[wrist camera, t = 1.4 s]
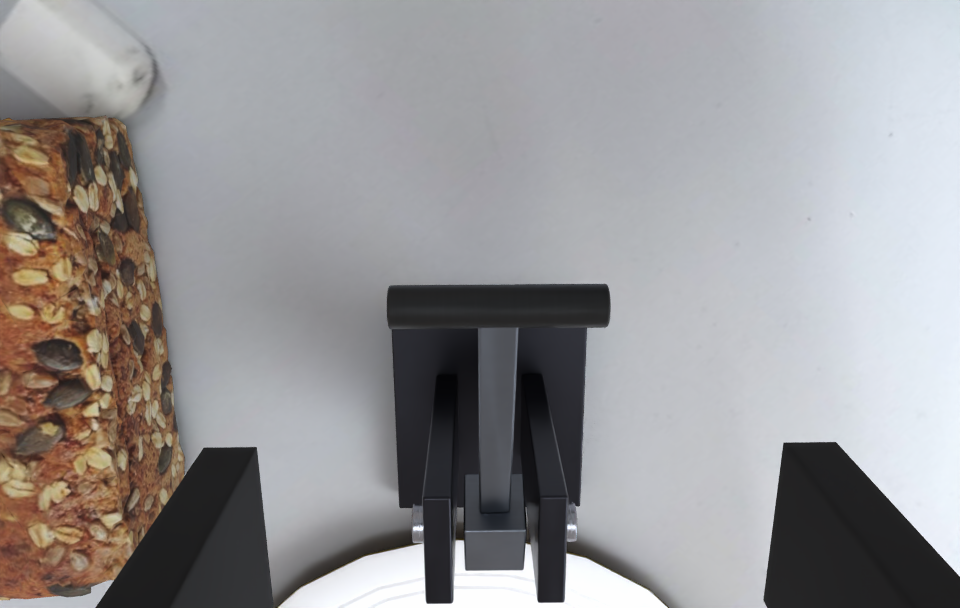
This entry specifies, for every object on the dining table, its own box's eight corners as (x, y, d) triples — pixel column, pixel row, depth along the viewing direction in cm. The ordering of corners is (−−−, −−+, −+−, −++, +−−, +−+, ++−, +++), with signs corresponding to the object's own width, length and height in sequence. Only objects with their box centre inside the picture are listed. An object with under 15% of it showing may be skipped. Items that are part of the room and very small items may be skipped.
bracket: (393, 309, 37) (358, 423, 26) (584, 308, 37) (632, 421, 26) (401, 495, 40) (373, 669, 29) (577, 493, 40) (617, 666, 29)
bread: (203, 483, 40) (119, 620, 30) (-7, 488, 40) (-157, 626, 30) (147, 106, 34) (20, 129, 25) (-99, 112, 34) (-321, 137, 25)
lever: (390, 262, 22) (383, 322, 20) (604, 260, 22) (615, 320, 20) (416, 515, 31) (413, 572, 29) (568, 514, 31) (575, 570, 29)
